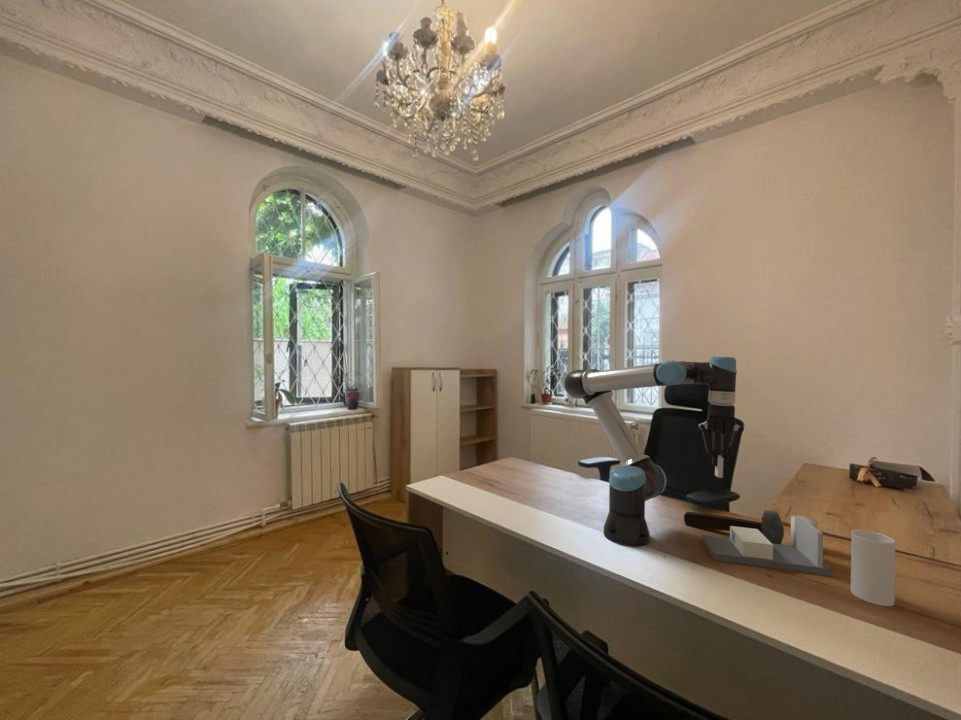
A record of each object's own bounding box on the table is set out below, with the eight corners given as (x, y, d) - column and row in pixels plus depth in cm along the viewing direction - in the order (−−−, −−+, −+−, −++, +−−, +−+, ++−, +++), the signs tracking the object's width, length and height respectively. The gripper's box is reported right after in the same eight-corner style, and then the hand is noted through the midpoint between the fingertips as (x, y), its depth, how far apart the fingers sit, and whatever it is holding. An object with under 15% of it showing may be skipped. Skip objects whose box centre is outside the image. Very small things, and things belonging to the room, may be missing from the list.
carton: (742, 555, 122) (742, 541, 122) (729, 539, 134) (729, 525, 134) (773, 559, 120) (773, 545, 120) (757, 542, 132) (757, 529, 132)
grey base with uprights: (714, 559, 123) (714, 521, 124) (702, 540, 137) (702, 505, 137) (830, 576, 115) (831, 534, 115) (805, 553, 129) (806, 516, 129)
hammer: (685, 536, 149) (785, 550, 131) (681, 505, 150) (780, 514, 131) (688, 531, 153) (786, 544, 134) (684, 501, 154) (781, 510, 135)
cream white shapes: (796, 549, 132) (797, 522, 132) (786, 540, 138) (787, 514, 138) (821, 552, 130) (822, 525, 130) (810, 543, 136) (811, 517, 136)
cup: (842, 588, 109) (843, 529, 109) (869, 587, 110) (870, 529, 110) (874, 606, 101) (875, 543, 101) (903, 605, 101) (904, 542, 102)
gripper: (702, 404, 128) (699, 477, 128) (748, 406, 124) (745, 482, 125) (696, 401, 135) (693, 471, 135) (739, 404, 132) (737, 475, 132)
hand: (718, 476), depth 130 cm, fingers closed
